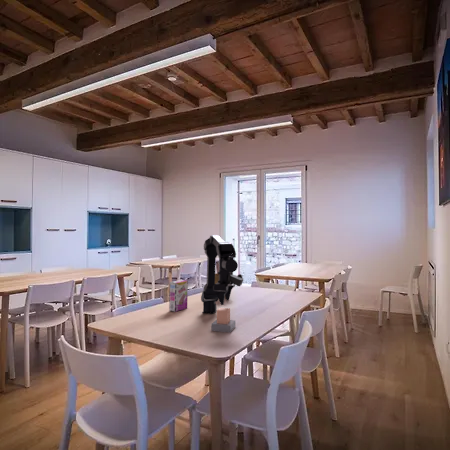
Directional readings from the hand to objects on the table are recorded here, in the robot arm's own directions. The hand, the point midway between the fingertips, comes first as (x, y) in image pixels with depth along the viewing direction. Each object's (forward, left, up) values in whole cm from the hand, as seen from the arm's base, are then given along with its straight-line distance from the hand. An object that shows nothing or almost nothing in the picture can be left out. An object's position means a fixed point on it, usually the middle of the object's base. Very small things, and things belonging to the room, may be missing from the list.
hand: (225, 302), depth 155 cm
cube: (0, -1, -9) cm, 9 cm away
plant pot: (-20, +64, -12) cm, 68 cm away
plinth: (0, -1, -12) cm, 12 cm away
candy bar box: (-35, +27, -12) cm, 46 cm away
